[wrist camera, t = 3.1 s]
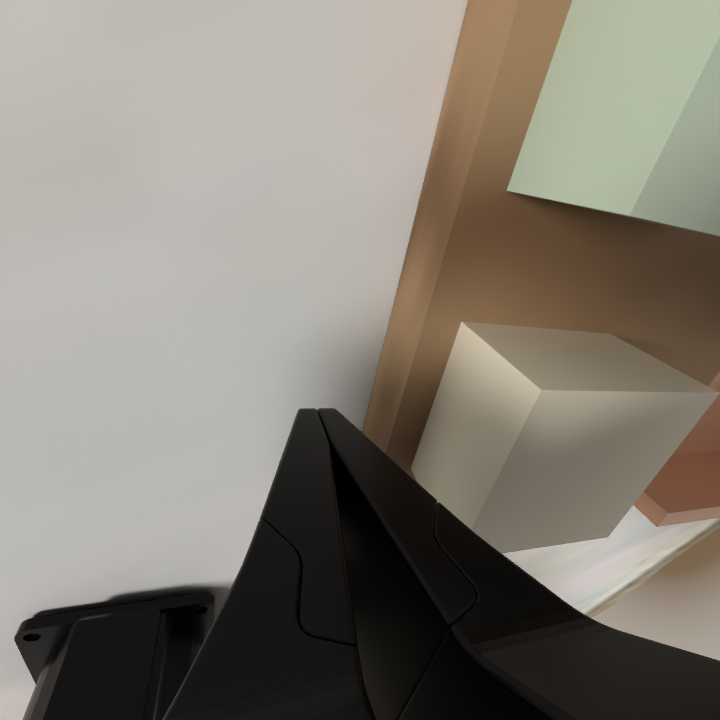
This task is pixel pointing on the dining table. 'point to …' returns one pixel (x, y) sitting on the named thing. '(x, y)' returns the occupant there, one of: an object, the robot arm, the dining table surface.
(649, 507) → the tray
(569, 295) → the board
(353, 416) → the dining table surface
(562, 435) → the ivory rectangular block
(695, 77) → the sage green square block
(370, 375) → the dining table surface
